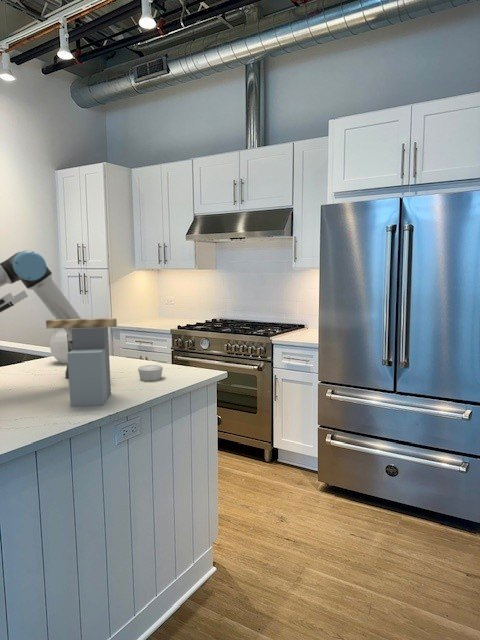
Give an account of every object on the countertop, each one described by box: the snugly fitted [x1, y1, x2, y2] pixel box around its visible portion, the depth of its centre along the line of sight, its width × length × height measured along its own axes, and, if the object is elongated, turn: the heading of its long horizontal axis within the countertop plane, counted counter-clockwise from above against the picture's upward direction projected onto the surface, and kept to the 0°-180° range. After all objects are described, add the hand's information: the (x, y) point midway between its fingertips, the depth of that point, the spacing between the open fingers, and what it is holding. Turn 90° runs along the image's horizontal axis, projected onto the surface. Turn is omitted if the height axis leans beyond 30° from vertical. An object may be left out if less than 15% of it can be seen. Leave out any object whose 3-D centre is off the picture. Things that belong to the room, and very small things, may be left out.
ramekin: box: [137, 364, 163, 382], centre depth 211 cm, size 11×11×5 cm
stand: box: [67, 327, 112, 407], centre depth 178 cm, size 12×16×28 cm
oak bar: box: [45, 317, 118, 329], centre depth 180 cm, size 26×3×3 cm, turn 96°
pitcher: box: [49, 315, 82, 365], centre depth 248 cm, size 19×18×25 cm
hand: (19, 294), depth 176 cm, fingers open, 13 cm apart
